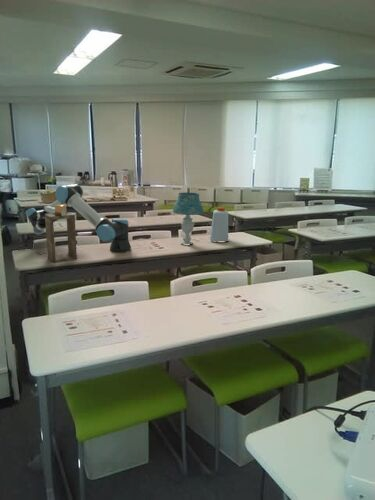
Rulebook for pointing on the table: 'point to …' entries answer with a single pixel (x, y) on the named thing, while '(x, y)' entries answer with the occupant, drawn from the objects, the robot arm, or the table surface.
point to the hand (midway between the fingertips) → (49, 213)
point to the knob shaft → (57, 210)
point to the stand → (70, 233)
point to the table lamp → (188, 212)
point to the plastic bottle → (219, 225)
